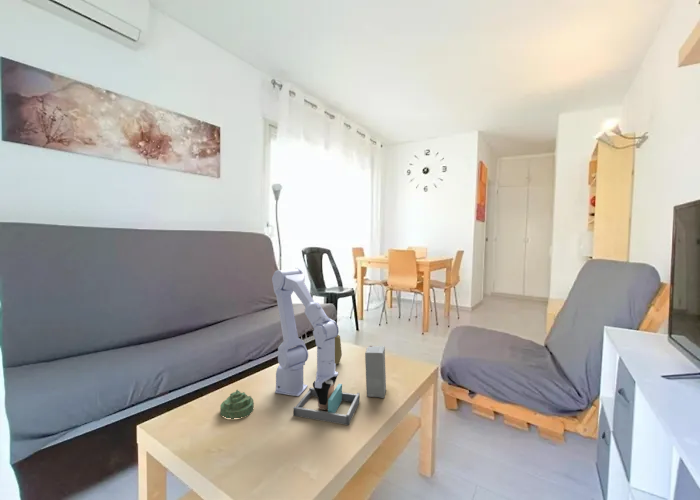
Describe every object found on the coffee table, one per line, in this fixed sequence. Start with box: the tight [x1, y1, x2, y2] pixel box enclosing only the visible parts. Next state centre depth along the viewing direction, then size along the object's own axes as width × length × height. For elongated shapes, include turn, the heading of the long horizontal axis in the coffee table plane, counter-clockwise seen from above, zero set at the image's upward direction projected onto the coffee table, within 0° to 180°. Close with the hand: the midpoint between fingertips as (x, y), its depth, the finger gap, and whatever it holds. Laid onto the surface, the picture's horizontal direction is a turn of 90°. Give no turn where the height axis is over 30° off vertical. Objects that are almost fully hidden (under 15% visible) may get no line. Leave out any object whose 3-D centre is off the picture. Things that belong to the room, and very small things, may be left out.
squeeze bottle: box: [335, 334, 343, 366], centre depth 140 cm, size 8×8×18 cm
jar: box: [317, 379, 335, 411], centre depth 104 cm, size 5×5×8 cm
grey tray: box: [292, 387, 360, 426], centre depth 104 cm, size 18×14×3 cm
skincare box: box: [364, 345, 387, 399], centre depth 114 cm, size 8×7×16 cm
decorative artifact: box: [219, 389, 255, 419], centre depth 102 cm, size 10×7×10 cm
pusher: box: [327, 383, 343, 413], centre depth 103 cm, size 1×11×6 cm, turn 164°
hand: (325, 399), depth 104 cm, fingers closed on jar, 5 cm apart
